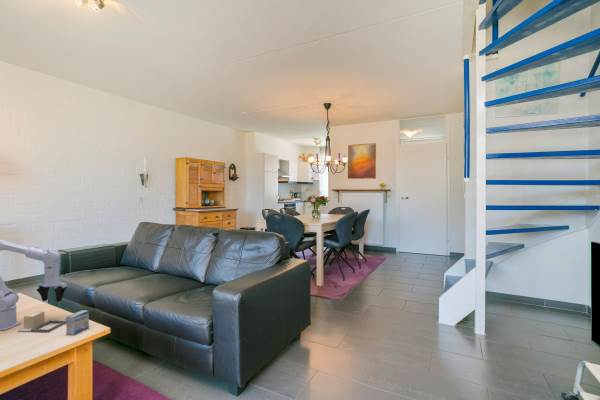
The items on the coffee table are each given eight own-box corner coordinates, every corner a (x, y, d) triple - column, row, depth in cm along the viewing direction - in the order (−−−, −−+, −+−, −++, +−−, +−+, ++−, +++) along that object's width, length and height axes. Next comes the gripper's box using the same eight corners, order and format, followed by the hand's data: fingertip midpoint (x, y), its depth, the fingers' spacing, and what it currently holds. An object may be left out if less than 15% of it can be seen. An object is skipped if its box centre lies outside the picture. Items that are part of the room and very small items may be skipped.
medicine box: (73, 335, 135) (73, 317, 135) (65, 334, 136) (65, 316, 136) (89, 327, 143) (89, 310, 143) (81, 327, 144) (81, 309, 144)
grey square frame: (30, 332, 138) (30, 329, 138) (50, 322, 148) (50, 320, 148) (48, 332, 138) (48, 329, 138) (66, 323, 148) (66, 320, 148)
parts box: (24, 328, 141) (24, 316, 140) (35, 323, 147) (35, 311, 146) (33, 329, 140) (32, 316, 140) (44, 323, 146) (44, 311, 146)
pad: (17, 331, 139) (17, 330, 139) (37, 322, 149) (37, 321, 149) (29, 332, 138) (29, 331, 138) (48, 322, 148) (48, 321, 148)
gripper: (30, 276, 147) (31, 303, 147) (58, 277, 146) (58, 304, 146) (43, 273, 154) (44, 298, 154) (70, 273, 153) (70, 298, 153)
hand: (52, 300), depth 151 cm, fingers open, 7 cm apart
